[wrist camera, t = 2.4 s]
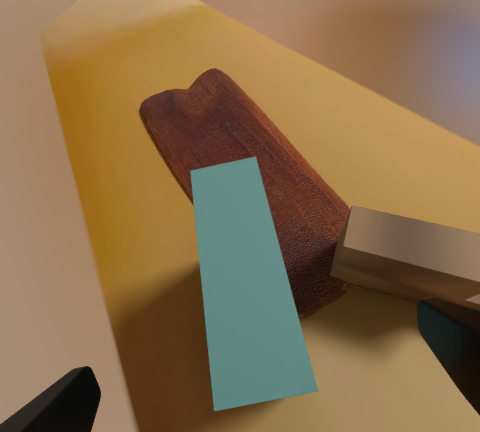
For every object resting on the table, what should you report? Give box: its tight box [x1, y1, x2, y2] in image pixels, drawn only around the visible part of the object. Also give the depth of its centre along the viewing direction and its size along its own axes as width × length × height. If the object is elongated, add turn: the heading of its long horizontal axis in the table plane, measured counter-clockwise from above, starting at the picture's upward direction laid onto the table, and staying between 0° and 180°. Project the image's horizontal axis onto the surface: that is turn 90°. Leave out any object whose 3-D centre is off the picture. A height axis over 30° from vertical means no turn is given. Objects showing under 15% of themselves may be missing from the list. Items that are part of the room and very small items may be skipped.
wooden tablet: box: [141, 68, 355, 319], centre depth 24 cm, size 27×10×2 cm, turn 29°
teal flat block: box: [190, 157, 318, 411], centre depth 14 cm, size 9×3×9 cm, turn 10°
